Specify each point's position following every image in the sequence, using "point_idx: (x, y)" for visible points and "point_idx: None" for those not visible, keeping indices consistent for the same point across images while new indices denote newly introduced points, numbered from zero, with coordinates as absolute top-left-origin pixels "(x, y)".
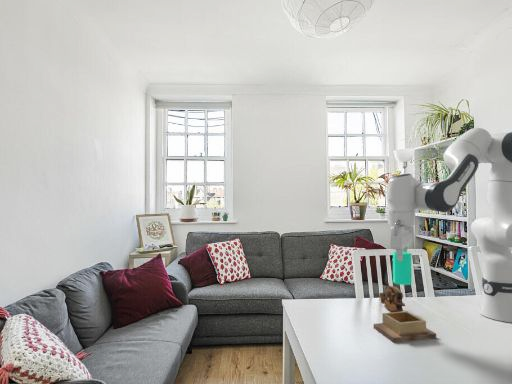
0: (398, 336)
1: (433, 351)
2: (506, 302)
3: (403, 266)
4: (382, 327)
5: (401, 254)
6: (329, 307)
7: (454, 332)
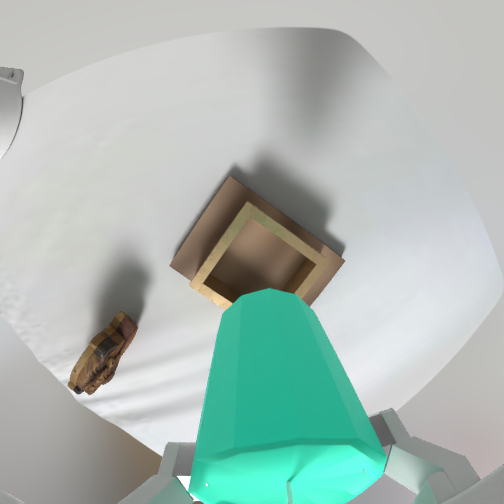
0: (326, 253)
1: (325, 160)
2: None
3: (347, 378)
4: None
5: (426, 448)
6: None
7: (151, 151)
